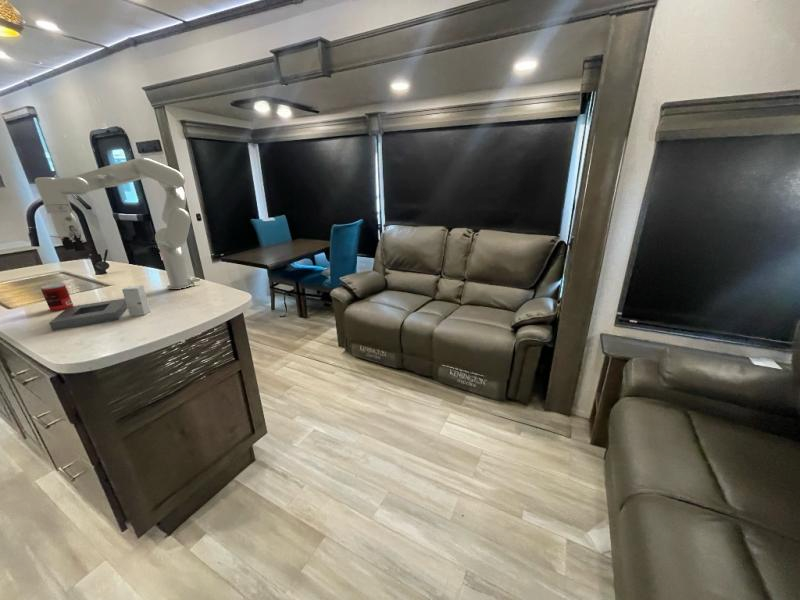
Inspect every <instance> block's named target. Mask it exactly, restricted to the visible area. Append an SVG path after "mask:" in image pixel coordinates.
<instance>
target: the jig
mask: <svg viewBox="0 0 800 600" xmlns="http://www.w3.org/2000/svg"><path fill="white" fill-rule="evenodd" d="M127 309H128V307H127V304H126V301H125V298H120V299H113V300H105V301H100V302H99V301H98V302H93V303H92V302H91V303H86V304H85V303H84V304H79V305H78V304H77V305H73V306H71V307H68V308H67V309H65V310H62V311H61V312H60V313H59V314H57V316H55V317H54V318H53V319H52V320H50V321H48V324H49V326H50V329H51V331H52V332H56V331H60V330H61V331H62V330H66V329H73V328H78V327H84V326H91V325H96V324H101V323H102V324H103V323H108V322H114V321H119V320H120V319H121V318H122V316H123V314H124V313H125V312H126V311H127Z"/></svg>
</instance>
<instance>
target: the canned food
mask: <svg viewBox="0 0 800 600" xmlns="http://www.w3.org/2000/svg"><path fill="white" fill-rule="evenodd" d="M40 291H41V293H42V295H43V297H44V299H45V301H46V304H47V306H48V308H49V310H50V311H51V312H60V311H61V312H62V311H64V310H65V309H67V308H68V307H71V306H74V303H73V301H72V298H71V296H70V293H69V291H68V288H67V286H66V284H65V283H64V282H63V283H62V282H58V283H52V284H51V283H50V284H46V285H43V286H41V287H40Z"/></svg>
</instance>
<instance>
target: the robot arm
mask: <svg viewBox="0 0 800 600" xmlns="http://www.w3.org/2000/svg"><path fill="white" fill-rule="evenodd" d="M147 178H149V179H152V180H154V181H157V182H158V183H159V185H160V186H161V187H162V188H163V189H164V192H165V201H164V206H163V211H162V214H161V219H162V221H163V223H164V224H165V225H166V227H162V228H159V229H157V231H156V232H155V234H154V238H155V239H154V240H155V242H156V244H157V247H158V249H159V252H160V254H161V255H160V256H161V258H162V262H163V265H164V269H165V271H166V275H167V278H168V281H169V282H168V283H169V285H167V287H166V288H167V290H169V289H180V290H182V289H181V288H185V289H187V288H186V287H189V286H192V285H194V284H195V283H196V282H201V278H200V277H194V278H193V277H191V276H190V274H189V269H188V266H187V263H186V259H185V255H184V251H183V249H182V247H183V246H185V244H186V242H187V241H188V236H189V231H190V227H191V224H192V223H191V215H190V213H189V212H188V211H187V210H186V203H187V194H186V191H185V190H184V188H183V186H184V185H185V182H186V179H185V176H184V175H183V174H182V172H180V171H179V170H177V169H175V168H173V167H170V166H168V165H165V164H164V163H160V162H159V161H156V160H153V159H152V158H148V157H138V158H137V157H136V158H134V159H130V160H126V161H122V162H119V163H115V164H111V165H110V164H109V165H106V166H102V167H100V168H97V169H94V170H91V171H87V172H82V173H80V174H79V173H78V174H75V175H72V176H67V177H53V176H49V177H48V176H44V177H42V176H40V177H36V178H35V179H34V184H35V185H36V188H37V190H38V193H39V195H40V197H41V200H42V203H43V205H44V207H45V209H46V213H47V214H50V216H51V217H50V218H51V219H52V224H53V226H54V228H55V230H56V233H57V235H58V236H59V238H60V241H61V244H62V246H63V248H64V250H66V251H68V250H74V251H75V252H81V251H83V252H84V251H86V248H85V244H84V242H83V239H82V237H81V236H83V232H82V230H81V228H80V225H79V223H78V221H77V218H76V217H75V215H74V214H73V213H74V211H73V208H72V206H71V203H70V200H69V198H68V196H78V197H79V196H85V195H87V194H88V193H90V192H93V191H97V190H101V189H105V188H106V189H107V188H113V187H114V188H115V187H118V186H122V185H125V184H128V183H133V182H135V181H140V180H142V179H147ZM194 286H195V285H194ZM192 287H193V286H192ZM189 288H190V287H189Z"/></svg>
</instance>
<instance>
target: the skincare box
mask: <svg viewBox="0 0 800 600" xmlns="http://www.w3.org/2000/svg"><path fill="white" fill-rule="evenodd" d="M121 290H122V291H121V292H122V294H123V297H124V298H125V301H126V304H127V307H128V308H127V309H128V310H127V311H128V313H129V317H135V316H136V317H137V316H138V317H139V316H146V315H148V314H149V313H150V312H151V309H150V306H149V303H148V299H147V295H146V291H145V288H144V285H129V286H126V287H124V288H122V289H121ZM124 298H123V299H124Z"/></svg>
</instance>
